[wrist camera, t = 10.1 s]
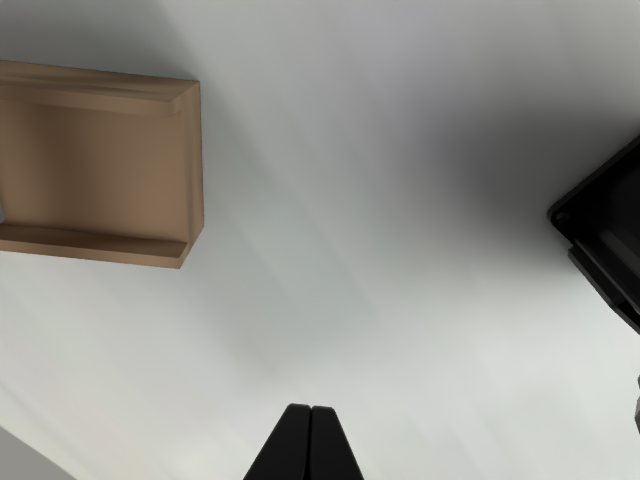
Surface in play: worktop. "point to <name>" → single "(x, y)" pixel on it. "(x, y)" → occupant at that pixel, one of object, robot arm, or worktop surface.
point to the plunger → (1, 214)
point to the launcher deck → (99, 164)
